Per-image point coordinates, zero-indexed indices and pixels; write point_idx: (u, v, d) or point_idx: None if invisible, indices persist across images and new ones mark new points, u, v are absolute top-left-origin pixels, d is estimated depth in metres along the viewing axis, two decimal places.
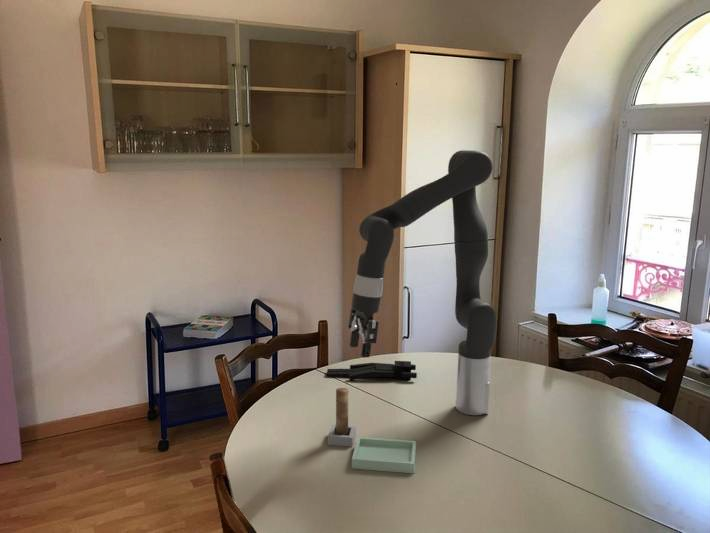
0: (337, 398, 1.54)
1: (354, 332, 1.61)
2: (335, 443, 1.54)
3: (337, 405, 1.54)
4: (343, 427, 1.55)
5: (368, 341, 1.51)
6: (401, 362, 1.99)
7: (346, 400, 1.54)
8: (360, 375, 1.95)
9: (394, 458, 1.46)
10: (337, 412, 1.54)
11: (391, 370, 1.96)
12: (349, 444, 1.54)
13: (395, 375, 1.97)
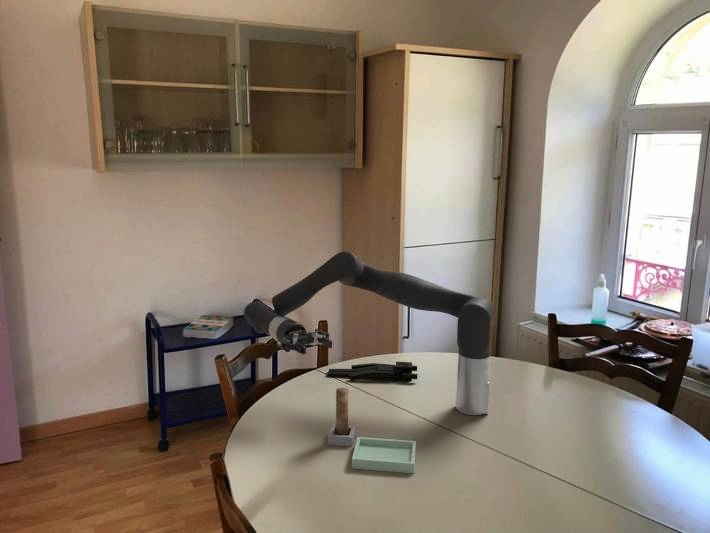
0: (337, 398, 1.54)
1: (322, 342, 1.66)
2: (335, 443, 1.54)
3: (337, 405, 1.54)
4: (343, 427, 1.55)
5: (285, 350, 1.61)
6: (403, 363, 1.98)
7: (346, 400, 1.54)
8: (361, 375, 1.95)
9: (394, 458, 1.46)
10: (337, 412, 1.54)
11: (392, 371, 1.96)
12: (349, 444, 1.54)
13: (396, 376, 1.96)
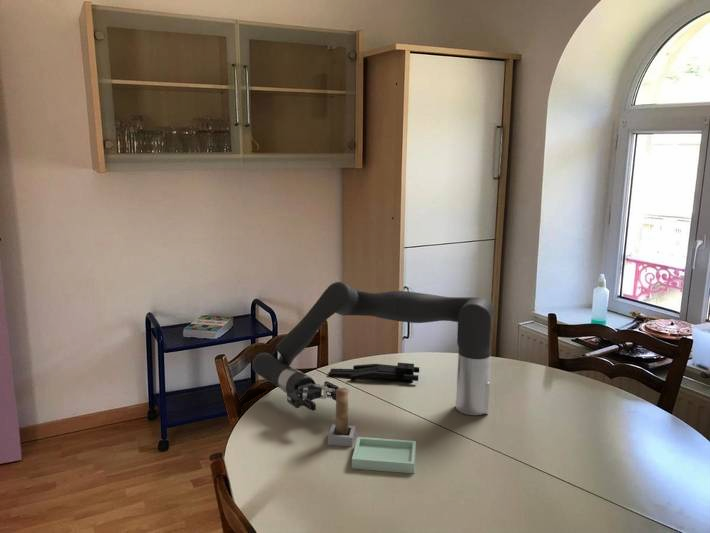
0: (337, 398, 1.54)
1: (331, 395, 1.66)
2: (335, 443, 1.54)
3: (337, 405, 1.54)
4: (343, 427, 1.55)
5: (295, 406, 1.61)
6: (404, 364, 1.97)
7: (346, 400, 1.54)
8: (361, 376, 1.94)
9: (394, 458, 1.46)
10: (337, 412, 1.54)
11: (393, 372, 1.95)
12: (349, 444, 1.54)
13: (397, 377, 1.95)
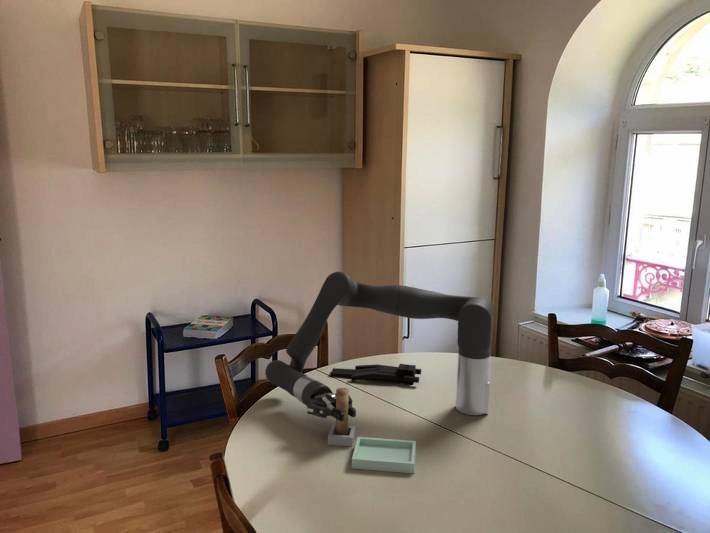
0: (337, 398, 1.54)
1: None
2: (335, 443, 1.54)
3: (337, 405, 1.54)
4: (343, 427, 1.55)
5: (322, 416, 1.55)
6: (406, 366, 1.96)
7: (346, 400, 1.54)
8: (362, 376, 1.94)
9: (394, 458, 1.46)
10: None
11: (394, 373, 1.94)
12: (349, 444, 1.54)
13: (398, 378, 1.94)
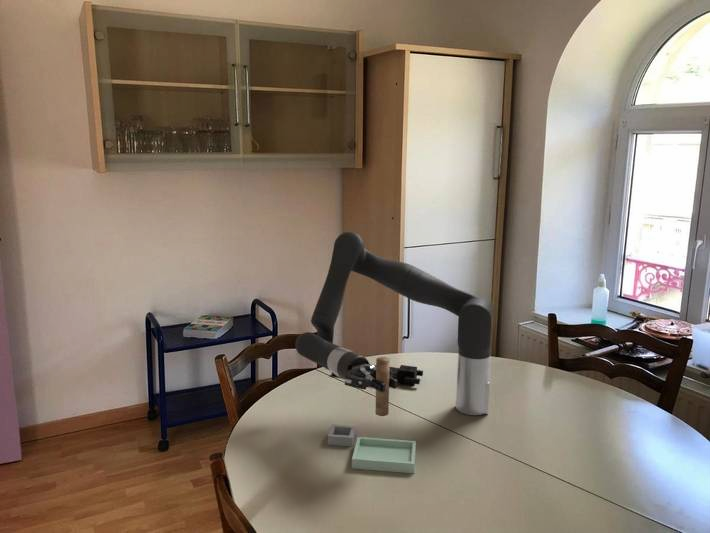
0: (377, 368, 1.43)
1: None
2: (335, 443, 1.54)
3: (377, 375, 1.43)
4: (384, 399, 1.44)
5: (362, 387, 1.44)
6: (407, 367, 1.95)
7: (387, 370, 1.43)
8: None
9: (394, 458, 1.46)
10: None
11: (394, 374, 1.93)
12: (349, 444, 1.54)
13: (398, 379, 1.93)
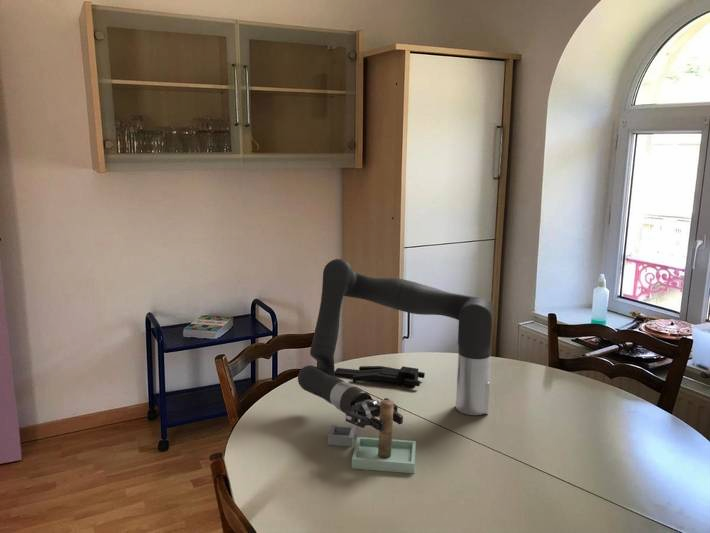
0: (382, 411, 1.44)
1: None
2: (335, 443, 1.54)
3: (381, 418, 1.45)
4: (387, 442, 1.45)
5: (360, 426, 1.44)
6: (408, 369, 1.93)
7: (391, 413, 1.44)
8: (363, 377, 1.93)
9: (394, 458, 1.46)
10: None
11: (395, 375, 1.92)
12: (349, 444, 1.54)
13: (399, 381, 1.92)
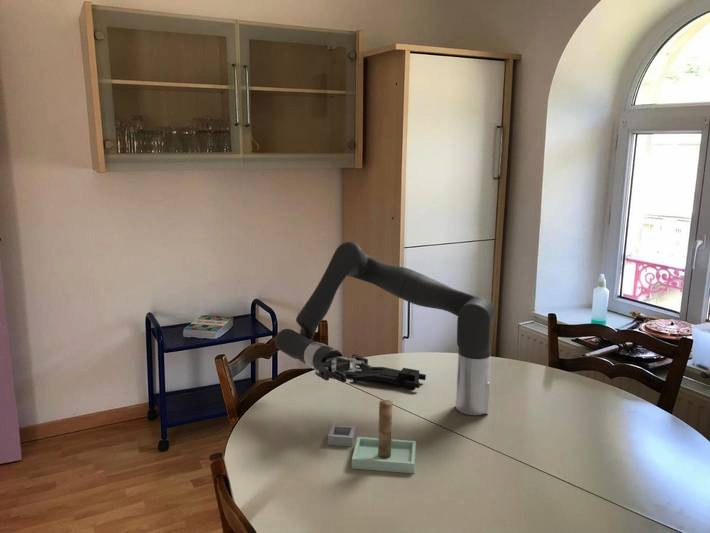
0: (381, 411, 1.44)
1: (361, 368, 1.61)
2: (335, 443, 1.54)
3: (380, 418, 1.45)
4: (387, 442, 1.45)
5: (325, 379, 1.55)
6: (408, 370, 1.92)
7: (390, 413, 1.44)
8: (363, 378, 1.93)
9: (394, 458, 1.46)
10: (380, 426, 1.45)
11: (395, 377, 1.91)
12: (349, 444, 1.54)
13: (399, 382, 1.91)
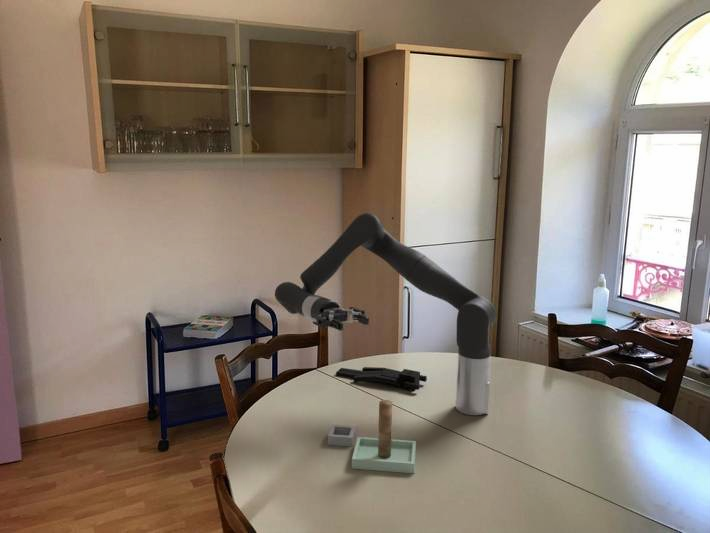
0: (380, 411, 1.44)
1: (358, 319, 1.63)
2: (335, 443, 1.54)
3: (380, 418, 1.45)
4: (386, 442, 1.45)
5: (322, 327, 1.57)
6: (409, 371, 1.91)
7: (390, 413, 1.44)
8: (363, 378, 1.93)
9: (394, 458, 1.46)
10: (380, 426, 1.45)
11: (395, 378, 1.90)
12: (349, 444, 1.54)
13: (399, 383, 1.90)
